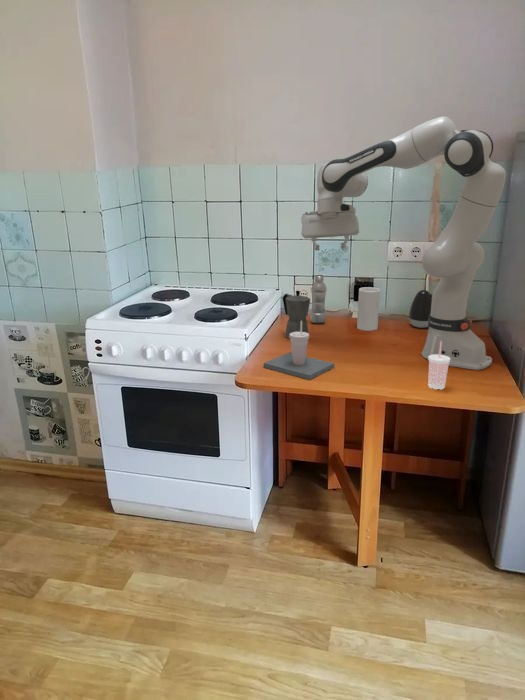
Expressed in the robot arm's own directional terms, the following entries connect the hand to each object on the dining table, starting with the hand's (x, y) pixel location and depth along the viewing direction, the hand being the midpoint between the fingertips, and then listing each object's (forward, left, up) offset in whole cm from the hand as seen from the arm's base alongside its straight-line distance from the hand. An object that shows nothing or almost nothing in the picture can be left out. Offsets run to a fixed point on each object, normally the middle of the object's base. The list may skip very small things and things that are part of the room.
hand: (330, 249), depth 190 cm
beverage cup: (-49, +18, -34) cm, 63 cm away
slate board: (-8, +30, -34) cm, 46 cm away
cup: (-2, -26, -34) cm, 43 cm away
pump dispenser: (-18, -42, -34) cm, 58 cm away
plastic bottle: (+18, -20, -34) cm, 44 cm away
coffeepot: (+14, +1, -34) cm, 37 cm away
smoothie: (-8, +30, -33) cm, 45 cm away
